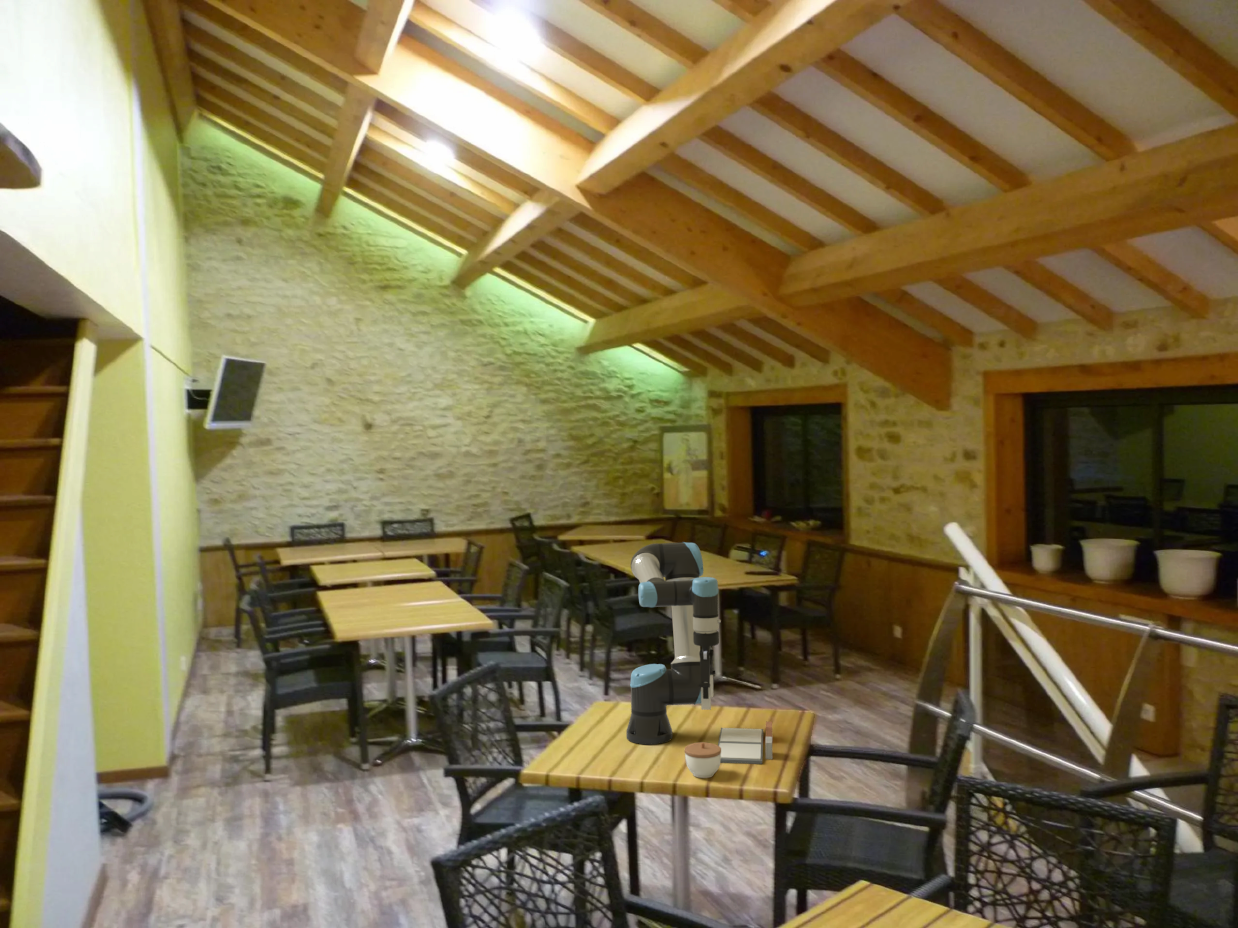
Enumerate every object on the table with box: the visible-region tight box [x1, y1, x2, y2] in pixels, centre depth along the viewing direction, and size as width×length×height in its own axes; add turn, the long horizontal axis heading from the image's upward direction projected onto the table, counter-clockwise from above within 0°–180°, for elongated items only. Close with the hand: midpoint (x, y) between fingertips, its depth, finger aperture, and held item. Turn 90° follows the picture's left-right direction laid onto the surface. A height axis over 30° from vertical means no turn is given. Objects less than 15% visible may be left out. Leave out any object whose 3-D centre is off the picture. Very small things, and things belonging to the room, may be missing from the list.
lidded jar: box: [684, 741, 721, 779], centre depth 280 cm, size 11×11×9 cm
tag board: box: [717, 721, 773, 765], centre depth 302 cm, size 17×30×5 cm, turn 171°
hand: (707, 702), depth 279 cm, fingers open, 13 cm apart
